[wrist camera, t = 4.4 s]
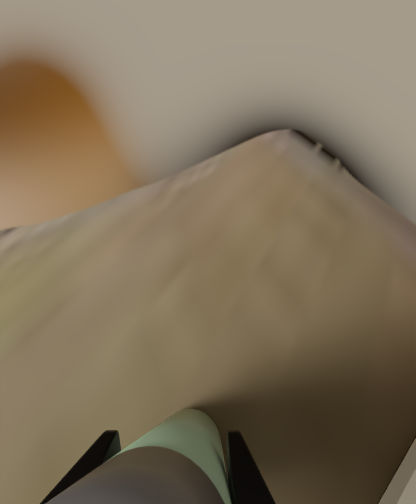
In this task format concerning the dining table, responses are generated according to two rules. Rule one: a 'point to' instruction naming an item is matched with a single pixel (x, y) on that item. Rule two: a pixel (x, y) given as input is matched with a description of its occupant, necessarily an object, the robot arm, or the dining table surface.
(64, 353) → the dining table surface
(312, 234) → the dining table surface
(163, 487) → the marker
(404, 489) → the white flat board
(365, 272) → the dining table surface
